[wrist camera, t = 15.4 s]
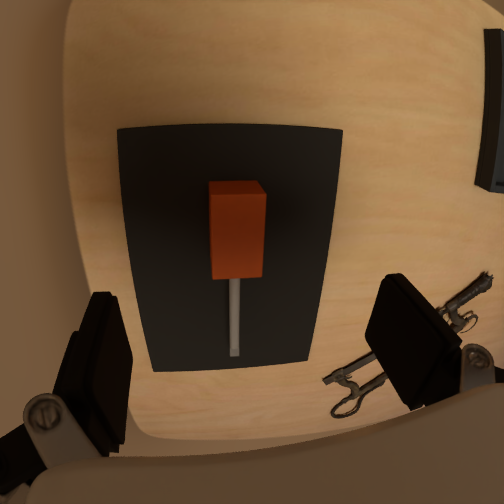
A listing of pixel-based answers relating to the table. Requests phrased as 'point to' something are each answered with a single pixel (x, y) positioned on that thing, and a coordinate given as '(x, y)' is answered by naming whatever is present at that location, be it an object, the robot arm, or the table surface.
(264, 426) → the table surface
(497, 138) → the tray
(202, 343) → the mat
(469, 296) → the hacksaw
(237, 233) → the screwdriver
